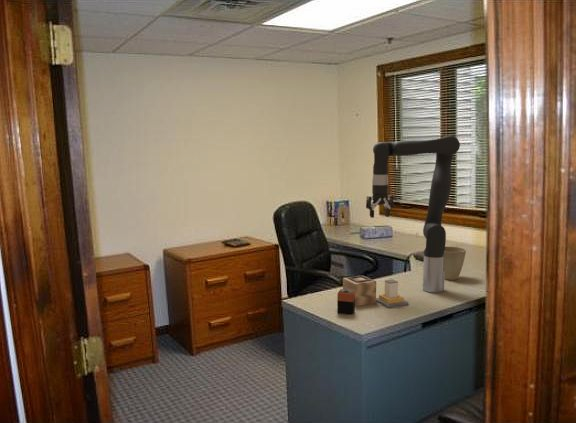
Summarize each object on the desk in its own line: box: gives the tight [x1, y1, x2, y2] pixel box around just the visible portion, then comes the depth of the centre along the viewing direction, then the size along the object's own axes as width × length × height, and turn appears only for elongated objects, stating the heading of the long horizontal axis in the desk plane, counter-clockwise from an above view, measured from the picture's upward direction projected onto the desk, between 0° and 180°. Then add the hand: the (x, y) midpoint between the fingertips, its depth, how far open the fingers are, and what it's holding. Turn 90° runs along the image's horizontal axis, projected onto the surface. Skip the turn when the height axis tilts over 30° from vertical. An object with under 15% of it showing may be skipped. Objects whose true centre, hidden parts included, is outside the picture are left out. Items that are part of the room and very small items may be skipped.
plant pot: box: [443, 246, 467, 281], centre depth 260 cm, size 15×15×16 cm
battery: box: [336, 288, 356, 316], centre depth 207 cm, size 4×7×10 cm, turn 71°
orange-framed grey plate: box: [376, 293, 410, 309], centre depth 220 cm, size 11×11×3 cm
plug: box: [383, 278, 399, 299], centre depth 220 cm, size 4×4×9 cm
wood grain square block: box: [342, 275, 377, 307], centre depth 223 cm, size 11×11×11 cm
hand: (379, 217), depth 238 cm, fingers open, 8 cm apart
